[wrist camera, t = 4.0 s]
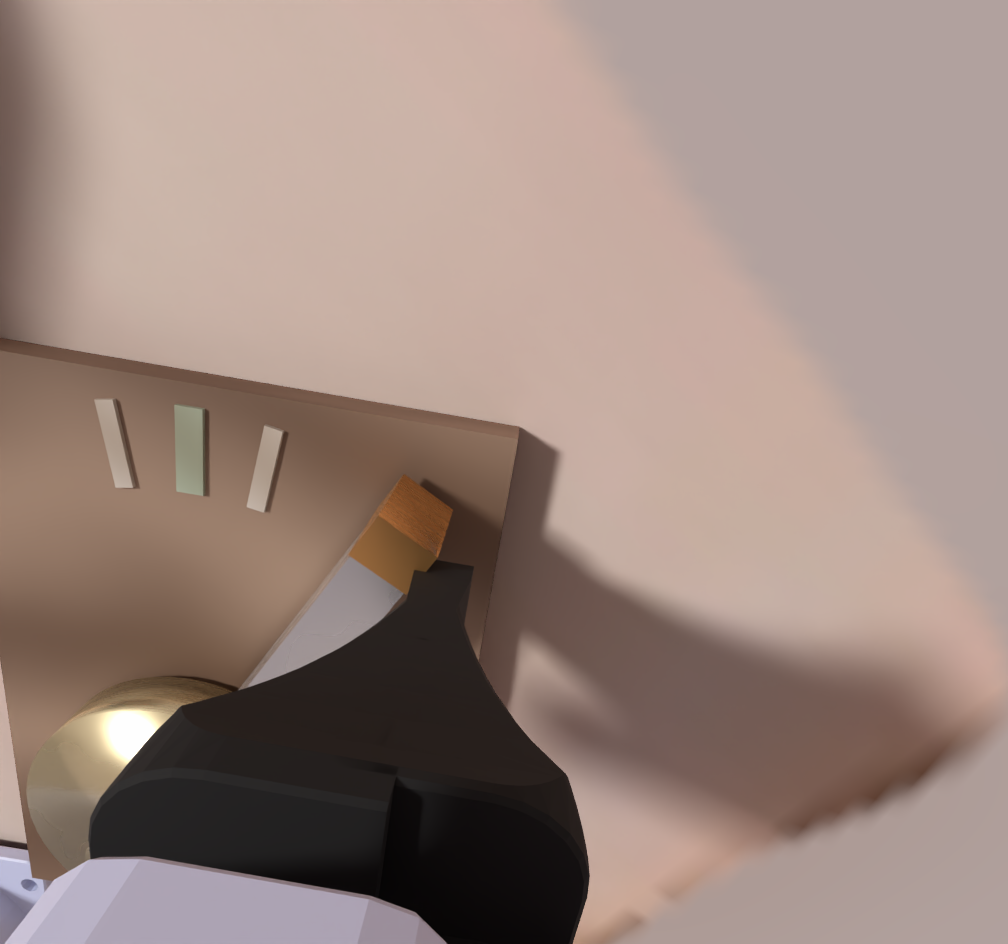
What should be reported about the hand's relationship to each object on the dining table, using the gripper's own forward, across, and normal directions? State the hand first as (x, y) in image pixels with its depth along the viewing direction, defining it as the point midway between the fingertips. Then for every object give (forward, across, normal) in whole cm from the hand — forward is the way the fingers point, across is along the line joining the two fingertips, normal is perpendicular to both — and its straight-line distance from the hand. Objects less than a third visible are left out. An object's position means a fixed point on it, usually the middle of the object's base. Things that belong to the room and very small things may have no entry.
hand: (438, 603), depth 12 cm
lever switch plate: (+2, +5, +5) cm, 7 cm away
